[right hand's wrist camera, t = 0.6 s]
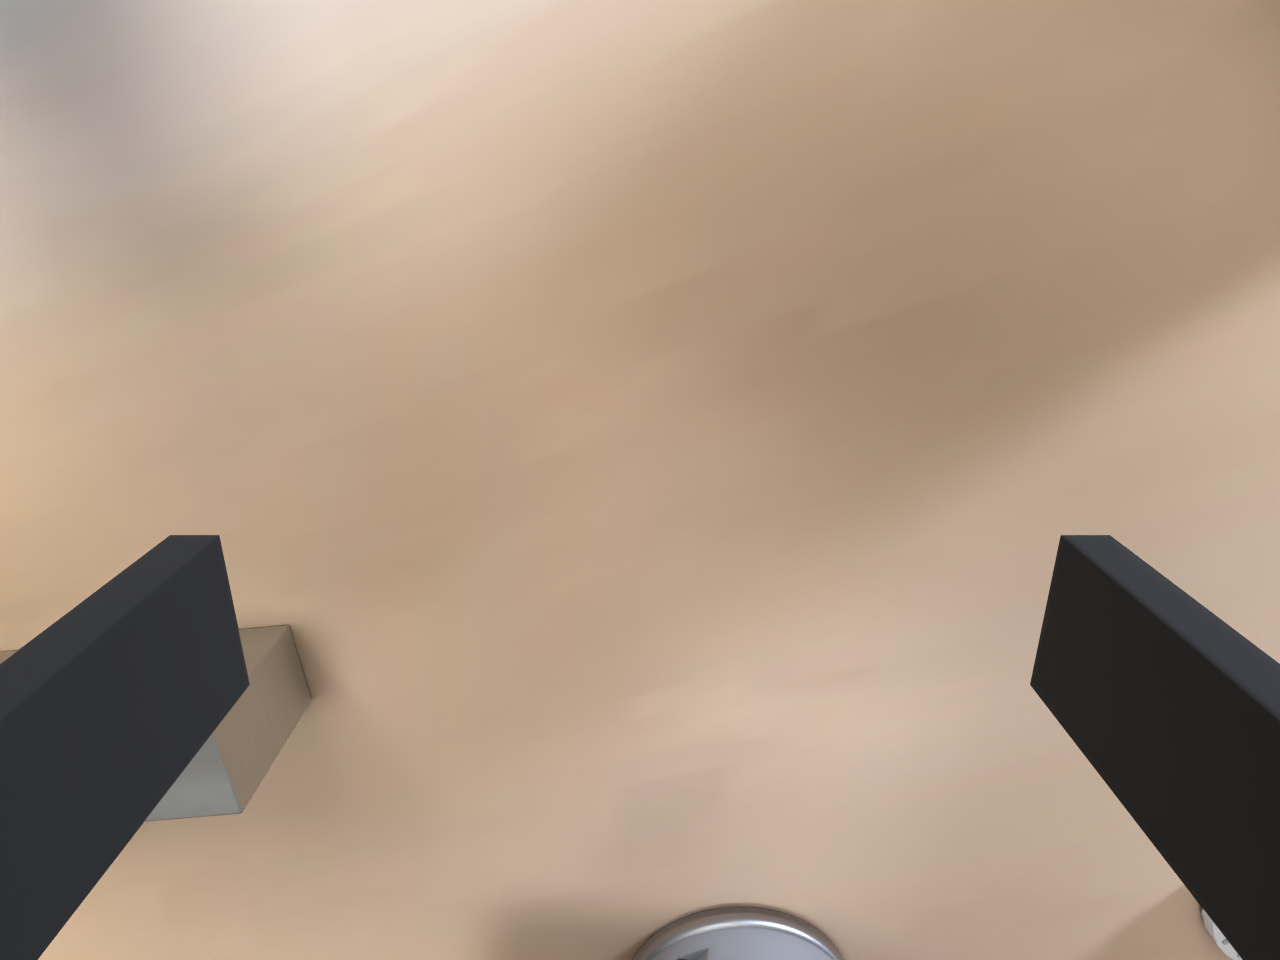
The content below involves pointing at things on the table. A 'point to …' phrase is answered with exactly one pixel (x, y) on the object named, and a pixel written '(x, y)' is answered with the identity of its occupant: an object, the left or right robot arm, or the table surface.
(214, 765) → the bar
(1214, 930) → the mechanical component
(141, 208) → the table surface
